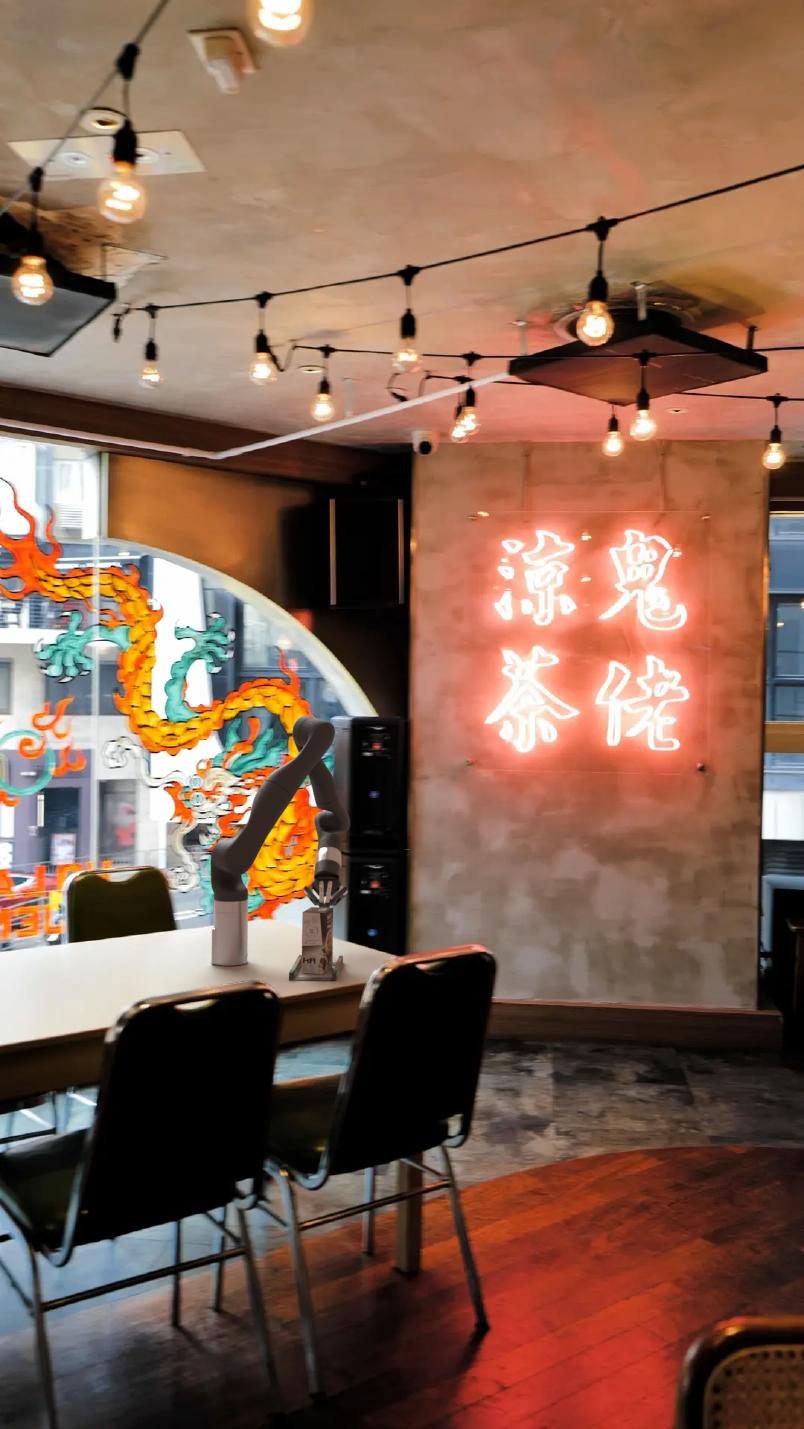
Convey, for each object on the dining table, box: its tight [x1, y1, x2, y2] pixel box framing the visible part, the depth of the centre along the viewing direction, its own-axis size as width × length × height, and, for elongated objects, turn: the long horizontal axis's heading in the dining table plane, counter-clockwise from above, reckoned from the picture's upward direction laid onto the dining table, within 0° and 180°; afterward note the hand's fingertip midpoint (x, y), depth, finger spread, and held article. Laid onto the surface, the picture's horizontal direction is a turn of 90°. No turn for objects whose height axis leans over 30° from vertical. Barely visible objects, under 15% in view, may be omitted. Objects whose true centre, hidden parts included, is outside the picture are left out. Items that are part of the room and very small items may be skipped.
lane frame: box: [288, 954, 344, 982], centre depth 298 cm, size 12×21×2 cm, turn 178°
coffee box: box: [301, 906, 334, 975], centre depth 299 cm, size 9×6×16 cm
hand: (323, 916), depth 314 cm, fingers closed
